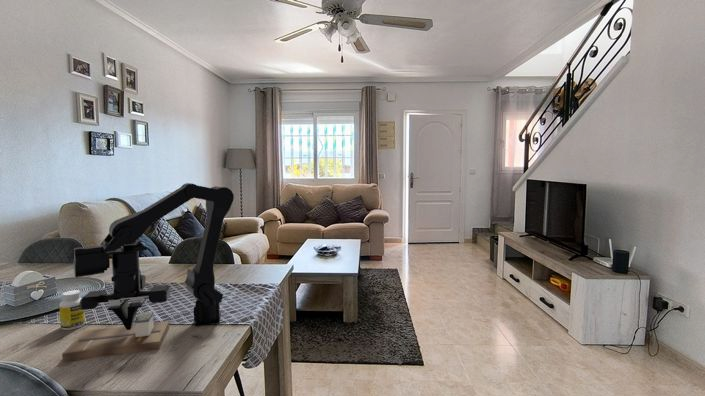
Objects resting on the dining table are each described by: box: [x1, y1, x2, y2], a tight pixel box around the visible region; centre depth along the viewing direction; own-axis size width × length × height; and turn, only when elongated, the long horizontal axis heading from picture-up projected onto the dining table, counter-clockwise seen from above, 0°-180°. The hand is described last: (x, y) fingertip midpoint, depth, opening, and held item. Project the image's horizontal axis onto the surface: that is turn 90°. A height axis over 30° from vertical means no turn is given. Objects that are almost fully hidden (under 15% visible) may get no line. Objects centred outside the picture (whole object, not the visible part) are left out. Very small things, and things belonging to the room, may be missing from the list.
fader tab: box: [133, 311, 155, 337], centre depth 92 cm, size 3×5×4 cm, turn 17°
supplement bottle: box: [58, 289, 86, 331], centre depth 100 cm, size 5×5×10 cm
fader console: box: [61, 320, 170, 363], centre depth 91 cm, size 20×12×2 cm, turn 107°
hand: (129, 329), depth 91 cm, fingers closed
